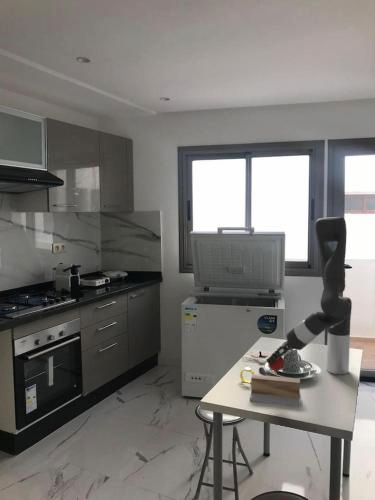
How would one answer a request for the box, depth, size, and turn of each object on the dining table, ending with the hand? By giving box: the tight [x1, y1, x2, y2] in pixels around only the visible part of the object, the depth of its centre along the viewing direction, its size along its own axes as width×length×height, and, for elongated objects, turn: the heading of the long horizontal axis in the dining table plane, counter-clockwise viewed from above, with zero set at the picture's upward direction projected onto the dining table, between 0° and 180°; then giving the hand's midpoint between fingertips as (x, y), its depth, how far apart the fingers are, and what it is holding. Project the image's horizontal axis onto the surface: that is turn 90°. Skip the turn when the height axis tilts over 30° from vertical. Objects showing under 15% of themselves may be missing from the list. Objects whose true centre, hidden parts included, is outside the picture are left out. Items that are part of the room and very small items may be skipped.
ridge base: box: [249, 392, 300, 407], centre depth 164 cm, size 12×18×1 cm, turn 75°
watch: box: [239, 366, 256, 384], centre depth 177 cm, size 6×3×6 cm, turn 61°
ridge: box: [250, 373, 301, 398], centre depth 164 cm, size 4×18×6 cm, turn 75°
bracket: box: [258, 367, 270, 376], centre depth 182 cm, size 14×15×3 cm
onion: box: [268, 354, 285, 373], centre depth 163 cm, size 6×6×8 cm
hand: (271, 359), depth 164 cm, fingers closed on onion, 5 cm apart
